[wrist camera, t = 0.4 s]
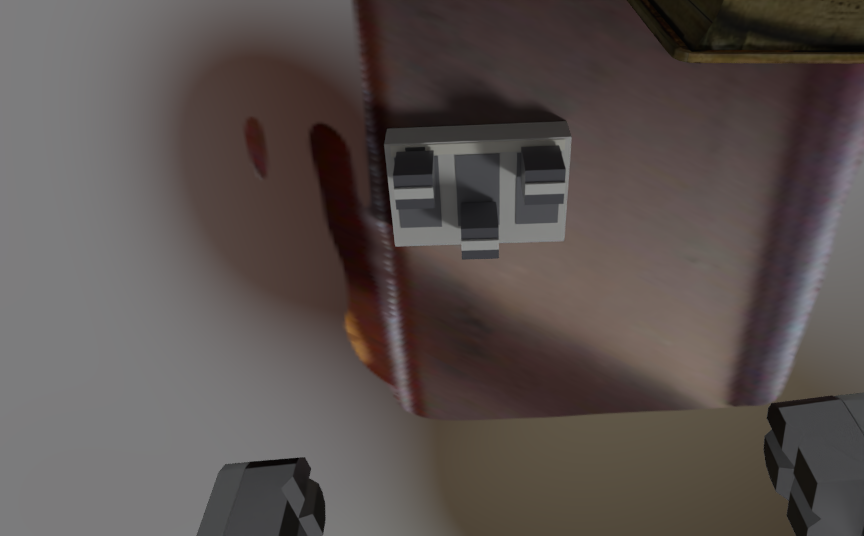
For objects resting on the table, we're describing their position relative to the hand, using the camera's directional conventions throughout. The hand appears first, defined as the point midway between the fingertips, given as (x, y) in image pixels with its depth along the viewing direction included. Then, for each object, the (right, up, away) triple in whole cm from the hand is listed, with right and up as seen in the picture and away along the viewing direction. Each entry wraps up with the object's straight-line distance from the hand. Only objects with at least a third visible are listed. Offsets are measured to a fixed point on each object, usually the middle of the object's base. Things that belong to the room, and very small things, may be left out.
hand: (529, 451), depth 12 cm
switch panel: (+2, +11, +47) cm, 48 cm away
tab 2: (+7, +12, +42) cm, 44 cm away
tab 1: (-3, +11, +43) cm, 44 cm away
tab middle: (+2, +8, +45) cm, 46 cm away
